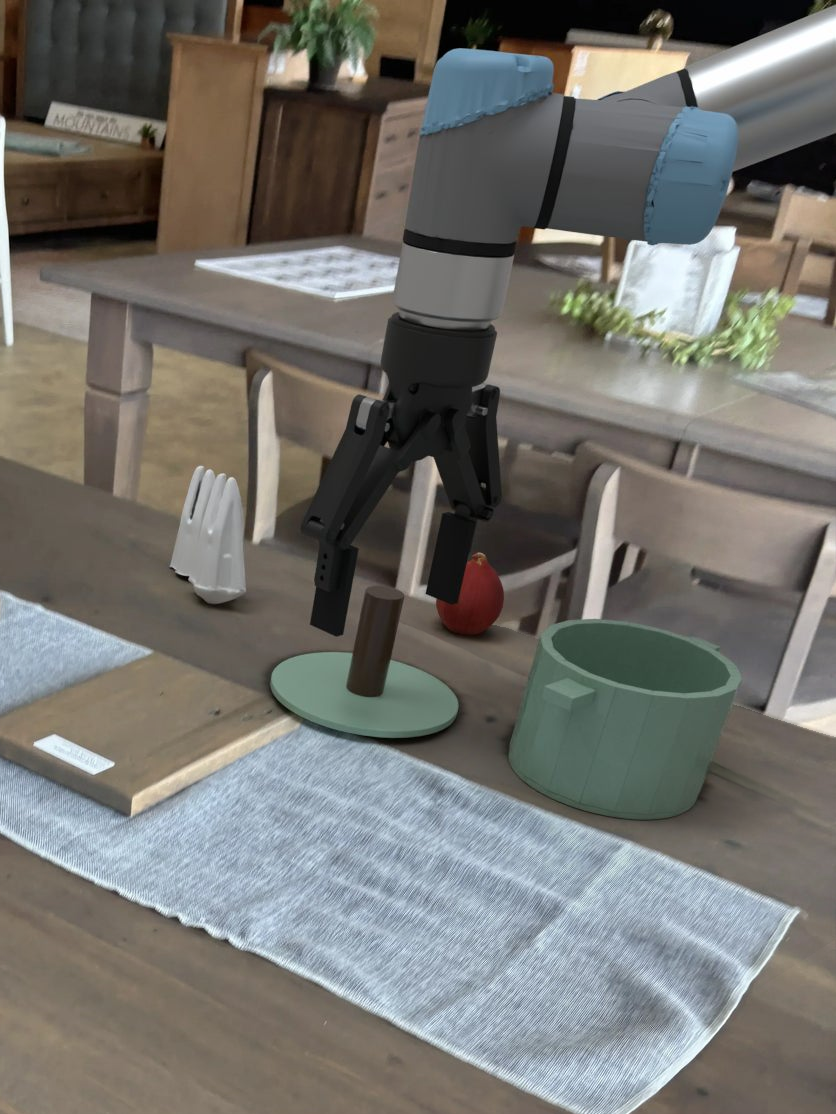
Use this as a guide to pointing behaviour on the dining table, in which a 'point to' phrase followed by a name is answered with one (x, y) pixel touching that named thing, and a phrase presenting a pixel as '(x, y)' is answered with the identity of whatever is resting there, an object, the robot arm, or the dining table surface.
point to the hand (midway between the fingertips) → (385, 614)
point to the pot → (622, 717)
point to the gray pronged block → (212, 538)
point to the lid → (367, 681)
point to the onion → (474, 599)
